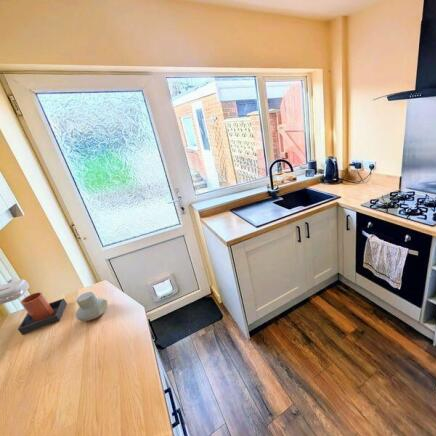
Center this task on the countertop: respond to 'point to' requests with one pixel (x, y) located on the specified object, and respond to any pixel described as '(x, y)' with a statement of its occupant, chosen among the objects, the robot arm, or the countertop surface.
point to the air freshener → (90, 306)
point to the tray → (31, 325)
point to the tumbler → (37, 306)
